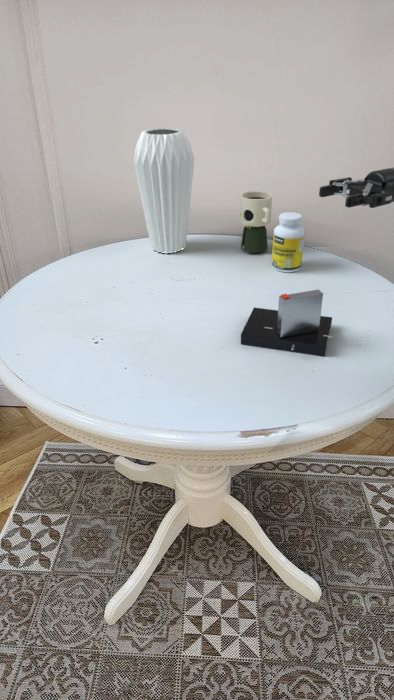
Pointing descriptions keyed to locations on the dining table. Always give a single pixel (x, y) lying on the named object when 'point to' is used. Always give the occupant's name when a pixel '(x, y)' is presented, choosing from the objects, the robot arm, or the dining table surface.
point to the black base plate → (264, 334)
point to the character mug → (255, 220)
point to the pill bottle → (288, 243)
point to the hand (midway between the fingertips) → (333, 197)
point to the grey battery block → (299, 313)
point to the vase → (165, 185)
